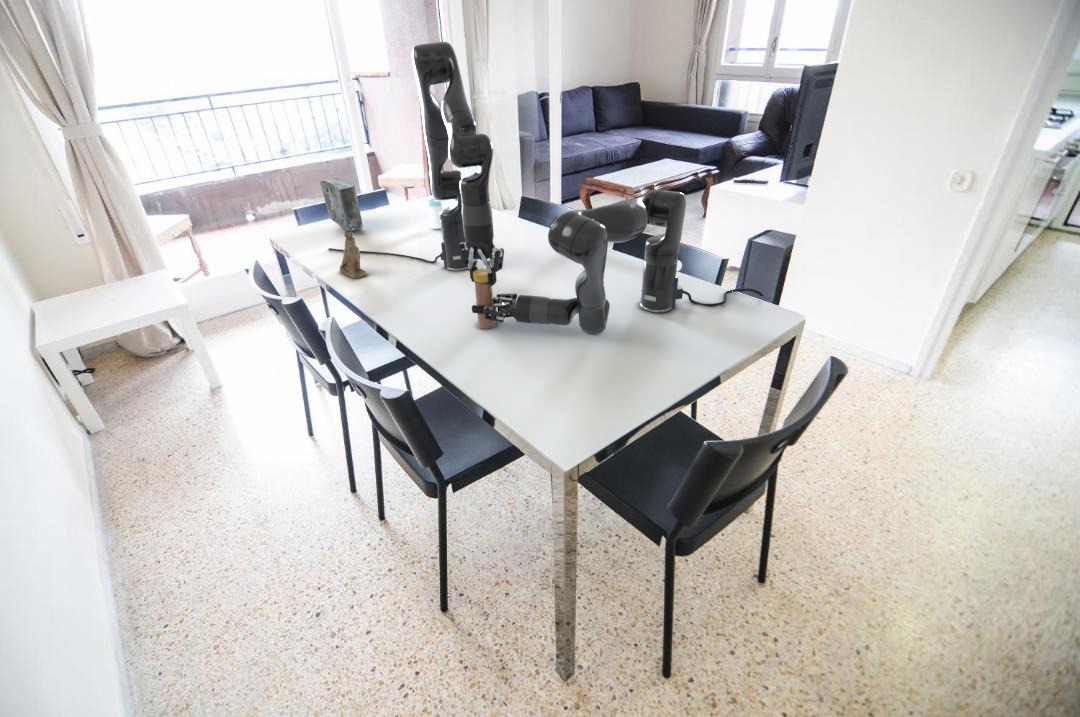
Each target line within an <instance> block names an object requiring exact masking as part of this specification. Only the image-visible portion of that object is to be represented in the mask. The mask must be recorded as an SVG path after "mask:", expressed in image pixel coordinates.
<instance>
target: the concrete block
mask: <svg viewBox="0 0 1080 717" xmlns="http://www.w3.org/2000/svg"><path fill="white" fill-rule="evenodd" d="M319 183H320V187H321V191H322V195H323V198H324V199H323V200H324V202H325V206H326V209H327V212H328V216H329V218H330V220H332V221H333V222H334V223H336V224H337V225H338V226H339V227H341V228H342V229H343V230H345V231H348V230H350V231H352V232H353V231H354V230H358V229H361V228H363V227H364V224H363V218H362V214H361V210H360V205H359V204H360V203H359V200H358V195H357V194H358V193H357V189H356V186H355V185H354V184H353V183H351V182H350V181H347V180H345V179H341V178H336V177H332V178H327V179H322V180H320V182H319Z"/></svg>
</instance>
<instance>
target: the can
mask: <svg viewBox="0 0 1080 717" xmlns="http://www.w3.org/2000/svg"><path fill="white" fill-rule="evenodd" d="M426 207H427V211H428V212H427V213H428V219H429V226H430V228H431V229H433V230H442V229H441V223H440V212H441V211H442V210H444V209H445V205H444V202H443V201H440V200H436V199H435V198H432V199H428V201H427V204H426Z"/></svg>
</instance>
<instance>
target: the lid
mask: <svg viewBox="0 0 1080 717" xmlns="http://www.w3.org/2000/svg"><path fill="white" fill-rule="evenodd" d="M488 273H489V272H488V270H487V268H486V267H485V268H484V267H483V268H477V270H475V271H474V272H473V279H474V281H476V282H488Z"/></svg>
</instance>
